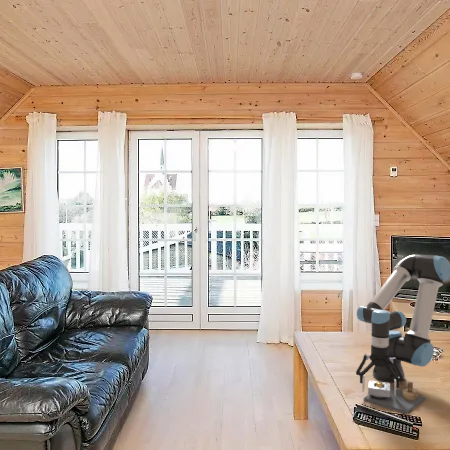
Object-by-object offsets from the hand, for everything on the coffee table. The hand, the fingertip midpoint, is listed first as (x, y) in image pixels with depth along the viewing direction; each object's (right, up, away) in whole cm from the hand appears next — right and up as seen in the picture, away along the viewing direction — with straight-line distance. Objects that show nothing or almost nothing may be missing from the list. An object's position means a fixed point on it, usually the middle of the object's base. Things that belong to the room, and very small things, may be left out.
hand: (379, 392), depth 203 cm
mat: (+7, -3, -1) cm, 7 cm away
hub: (0, -2, 0) cm, 2 cm away
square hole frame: (0, 0, 0) cm, 0 cm away
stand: (+13, -2, -2) cm, 13 cm away
